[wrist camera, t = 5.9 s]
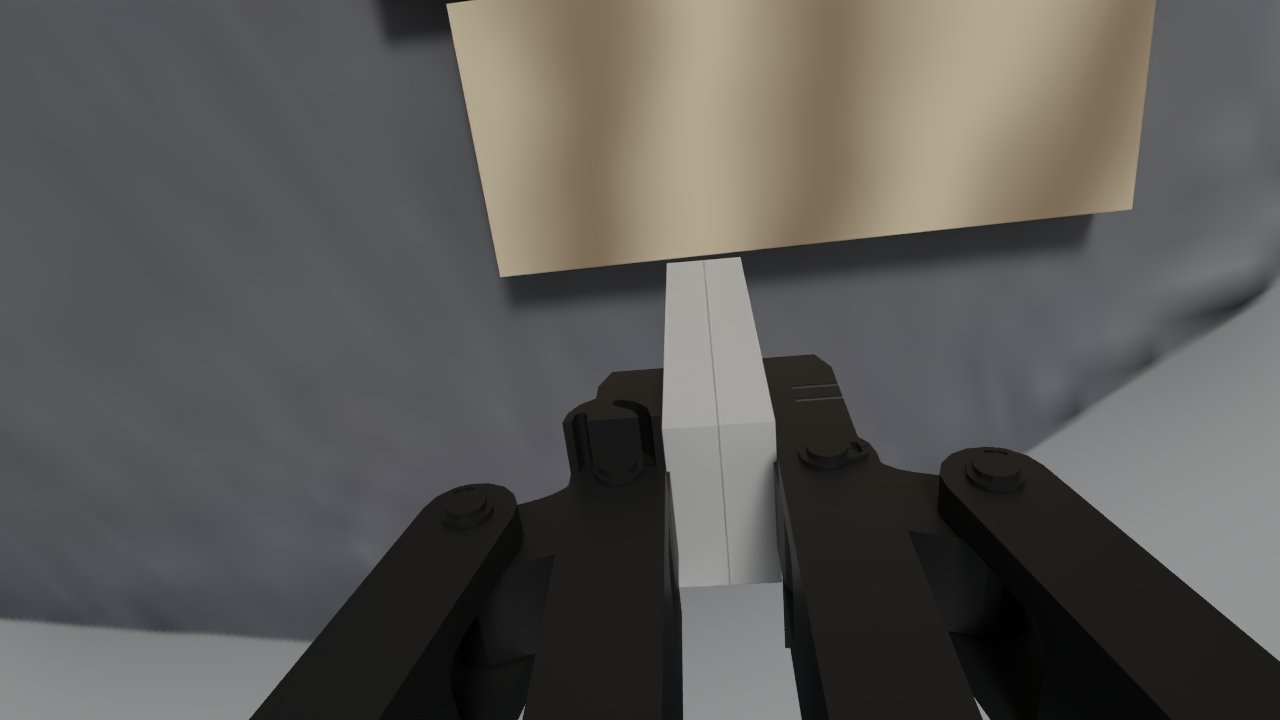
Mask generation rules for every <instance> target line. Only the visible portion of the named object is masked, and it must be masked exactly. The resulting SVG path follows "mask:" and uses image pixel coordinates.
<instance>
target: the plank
mask: <svg viewBox="0 0 1280 720" xmlns="http://www.w3.org/2000/svg"><path fill="white" fill-rule="evenodd" d="M446 5H447V10H448V15H449V21H450V26H451V31H452V36H453V41H454V46H455V51H456V56H457V61H458V66H459V71H460V76H461V81H462V86H463V91H464V96H465V101H466V106H467V111H468V116H469V121H470V126H471V131H472V136H473V141H474V146H475V151H476V157H477V162H478V167H479V172H480V177H481V182H482V187H483V192H484V197H485V202H486V207H487V212H488V217H489V222H490V227H491V232H492V237H493V242H494V247H495V252H496V257H497V262H498V267H499V272H500V277H507V276H516V275H526V274H535V273H544V272H554V271H563V270H572V269H581V268H591V267H600V266H609V265H619V264H628V263H637V262H647V261H656V260H665V259H674V258H684V257H693V256H702V255H712V254H721V253H730V252H739V251H749V250H758V249H767V248H777V247H786V246H795V245H804V244H814V243H823V242H832V241H842V240H851V239H860V238H869V237H879V236H888V235H897V234H907V233H916V232H925V231H935V230H944V229H953V228H962V227H972V226H981V225H990V224H1000V223H1009V222H1018V221H1027V220H1037V219H1046V218H1055V217H1065V216H1074V215H1083V214H1092V213H1102V212H1111V211H1120V210H1130V209H1132V205H1133V196H1134V187H1135V179H1136V170H1137V161H1138V153H1139V144H1140V135H1141V127H1142V118H1143V109H1144V101H1145V92H1146V83H1147V75H1148V66H1149V57H1150V49H1151V40H1152V32H1153V23H1154V14H1155V6H1156V0H472V1H464V2H457V3H450V4H446Z"/></svg>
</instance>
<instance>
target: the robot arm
mask: <svg viewBox="0 0 1280 720" xmlns="http://www.w3.org/2000/svg"><path fill="white" fill-rule="evenodd" d="M562 424H563V430H564V435H565V441H566V447H567V453H568V459H569V465H570V471H571V477H570V482H569V486H567V487H566V488H564V489H563V490H561V491H559V492H557V493H555V494H553V495H550V496H547V497H544V498H541V499H538V500H534V501H531V502H527V503H523V504H520V505H517V502H516V499H515V496H514V494H513V493H512V492H510V491H509V490H508V489H506V488H505V487H503V486H498V485H494V484H490V483H486V484H470V485H464V486H460V487H457V488H454V489H452V490H450V491H448V492H446V493H444V494H442V495H440V496H438V497H436V498H435V499H434V500H432V501H431V502H430V503H429V504H428V505H427V506H425V507H424V508H423V510H422V511H421V512H420V513H419V514H418V516H417V517H416V518H415V519H414V520H413V522H412V523H411V524H410V525H409V526H408V528H407V529H406V530H405V531H404V533H403V534H402V535H401V536H400V537H399V539H398V540H397V541H396V542H395V543H394V545H393V546H392V547H391V548H390V550H389V551H388V552H387V553H386V554H385V556H384V557H383V558H382V559H381V560H380V562H379V563H378V564H377V565H376V566H375V568H374V569H373V570H372V571H371V573H370V574H369V575H368V576H367V577H366V579H365V580H364V581H363V582H362V583H361V585H360V586H359V587H358V588H357V590H356V591H355V592H354V593H353V594H352V596H351V597H350V598H349V599H348V600H347V602H346V603H345V604H344V605H343V606H342V608H341V609H340V610H339V611H338V613H337V614H336V615H335V616H334V617H333V619H332V620H331V621H330V622H329V623H328V625H327V626H326V627H325V628H324V629H323V631H322V632H321V633H320V634H319V636H318V637H317V638H316V639H315V640H314V642H313V643H312V644H311V645H310V646H309V648H308V649H307V650H306V651H305V653H304V654H303V655H302V656H301V657H300V659H299V660H298V661H297V662H296V663H295V665H294V666H293V667H292V668H291V670H290V671H289V672H288V673H287V674H286V676H285V677H284V678H283V679H282V680H281V682H280V683H279V684H278V686H276V688H275V689H274V690H273V691H272V693H271V694H270V695H269V696H268V697H267V699H266V700H265V701H264V702H263V704H262V705H261V706H260V707H259V708H258V709H257V711H256V712H255V713H254V714H253V716H252V717H251V718H250V719H249V720H518V719H519V716H520V714H521V712H522V710H523V708H524V706H525V710H524V715H523V720H683V677H682V611H681V602H680V593H679V588H684V587H702V586H703V587H704V586H722V585H740V584H758V583H777V582H782V578H781V571H782V577H783V600H784V626H785V648H790V649H791V655H792V661H793V668H794V674H795V680H796V686H797V692H798V699H799V705H800V711H801V717H802V720H983V719H982V716H981V714H980V711H979V709H978V706H977V704H976V702H975V699H976V700H977V702H978V703H979V704H980V706H981V707H982V708H983V710H984V711H985V713H986V714H987V716H988V717H989V718H990V720H1280V661H1278V660H1277V659H1276V658H1275V657H1274V656H1272V655H1271V654H1270V653H1269V652H1268V651H1266V650H1265V649H1264V648H1263V647H1262V646H1260V645H1259V644H1258V643H1257V642H1255V641H1254V640H1253V639H1252V638H1250V636H1248V635H1247V634H1246V633H1245V632H1243V631H1242V630H1241V629H1240V628H1238V627H1237V626H1236V625H1235V624H1234V623H1233V622H1231V621H1230V620H1229V619H1228V618H1227V617H1225V616H1224V615H1223V614H1222V613H1221V612H1219V611H1218V610H1217V609H1216V608H1215V607H1213V606H1212V605H1211V604H1210V603H1209V602H1207V601H1206V600H1205V599H1204V598H1203V597H1201V596H1200V595H1199V594H1198V593H1197V592H1195V591H1194V590H1193V589H1192V588H1191V587H1189V586H1188V585H1187V584H1186V583H1185V582H1183V581H1182V580H1181V579H1180V578H1178V577H1177V576H1176V575H1175V574H1174V573H1172V572H1171V571H1170V570H1169V569H1168V568H1166V567H1165V566H1164V565H1163V564H1162V563H1160V562H1159V561H1158V560H1157V559H1156V558H1154V557H1153V556H1152V555H1151V554H1150V553H1148V552H1147V551H1146V550H1145V549H1144V548H1142V547H1141V546H1140V545H1139V544H1138V543H1136V542H1135V541H1134V540H1133V539H1132V538H1130V537H1129V536H1128V535H1127V534H1125V533H1124V532H1123V531H1122V530H1121V529H1119V528H1118V527H1117V526H1116V525H1115V524H1113V523H1112V522H1111V521H1110V520H1108V519H1107V518H1106V517H1105V516H1104V515H1103V514H1101V513H1100V512H1099V511H1098V510H1097V509H1095V508H1094V507H1093V506H1092V505H1091V504H1089V503H1088V502H1087V501H1086V500H1085V499H1083V498H1082V497H1081V496H1080V495H1078V494H1077V493H1076V492H1075V491H1074V490H1073V489H1071V488H1070V487H1069V486H1068V485H1066V484H1065V483H1064V482H1063V481H1062V480H1061V479H1059V478H1058V477H1057V476H1056V475H1054V474H1053V473H1052V472H1051V471H1050V470H1048V469H1047V468H1046V467H1045V466H1044V465H1042V464H1040V463H1039V462H1037V461H1036V460H1034V459H1032V458H1031V457H1029V456H1027V455H1024V454H1021V453H1018V452H1014V451H1011V450H1008V449H1003V448H994V447H980V448H968V449H964V450H961V451H959V452H956V453H953V454H951V455H950V456H948V457H947V458H946V459H945V460H944V461H943V462H942V463H941V469H940V475H932V474H924V473H916V472H910V471H905V470H900V469H896V468H893V467H890V466H887V465H885V464H883V463H881V462H880V460H879V457H878V455H877V452H876V451H875V450H874V449H873V447H872V446H871V445H870V444H869V443H868V442H866V441H865V440H863V439H861V438H859V437H858V436H857V434H856V431H855V428H854V426H853V423H852V420H851V418H850V415H849V412H848V410H847V407H846V404H845V402H844V399H843V398H842V394H841V391H840V389H839V386H838V385H837V381H836V378H835V375H834V373H833V370H832V367H831V366H829V365H828V364H827V363H825V362H824V361H822V360H821V359H820V358H818V357H817V356H816V355H814V354H813V355H800V356H787V357H774V358H762V356H761V352H760V347H759V342H758V338H757V333H756V328H755V323H754V319H753V314H752V309H751V305H750V300H749V295H748V290H747V286H746V281H745V276H744V272H743V267H742V262H741V258H740V257H734V258H723V259H712V260H700V261H689V262H677V263H667V277H666V310H665V343H664V368H660V369H647V370H634V371H621V372H612V373H611V374H610V375H609V376H608V377H607V378H606V379H605V380H604V381H603V383H602V384H601V385H600V386H599V387H598V392H597V397H596V399H594V400H591V401H589V402H586V403H583V404H581V405H579V406H578V407H576V408H575V409H573V410H572V411H571V412H569V413H568V414H567V416H566V418H565V419H564V421H563V423H562ZM974 697H975V699H974ZM525 704H526V705H525Z"/></svg>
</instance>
